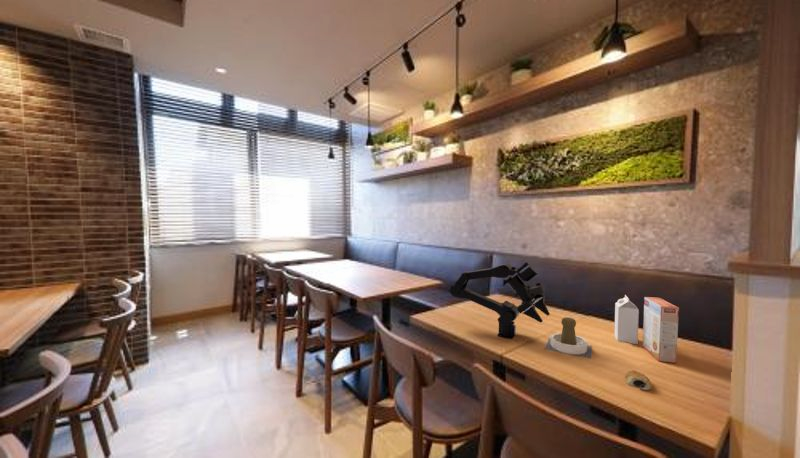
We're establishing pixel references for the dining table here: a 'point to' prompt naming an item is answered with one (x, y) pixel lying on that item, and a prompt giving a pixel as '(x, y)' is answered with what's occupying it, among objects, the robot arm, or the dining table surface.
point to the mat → (586, 355)
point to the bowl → (569, 349)
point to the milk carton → (626, 321)
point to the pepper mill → (568, 331)
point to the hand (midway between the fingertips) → (545, 318)
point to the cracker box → (660, 329)
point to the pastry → (638, 380)
